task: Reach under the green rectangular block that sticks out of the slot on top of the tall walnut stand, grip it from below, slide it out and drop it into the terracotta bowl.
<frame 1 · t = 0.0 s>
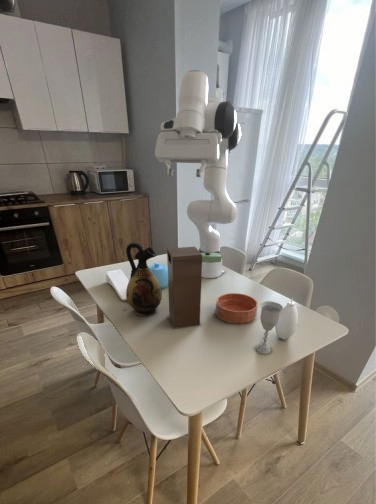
hand: (184, 175, 91), 54 cm above the table, tool tilted 30°, fingers open, 8 cm apart
sugar bowl: (158, 284, 154), on the table
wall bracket: (122, 290, 147), on the table
chalice: (263, 349, 106), on the table
white tall oval piece: (283, 338, 112), on the table
stand: (184, 320, 122), on the table
ceramic jug: (143, 310, 130), on the table
bowl: (235, 314, 127), on the table
green rectangular block: (203, 260, 110), point 26 cm above the table, touching stand
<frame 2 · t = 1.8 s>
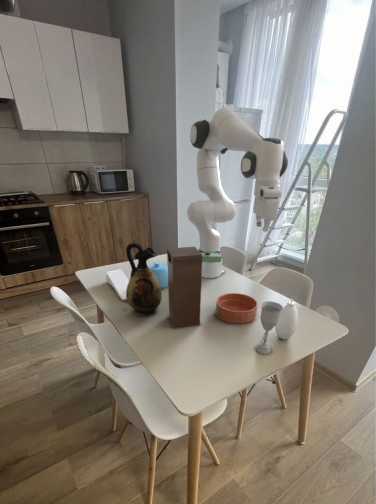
hand: (261, 228, 115), 35 cm above the table, tool pointing down, fingers open, 8 cm apart
nothing on the table moved.
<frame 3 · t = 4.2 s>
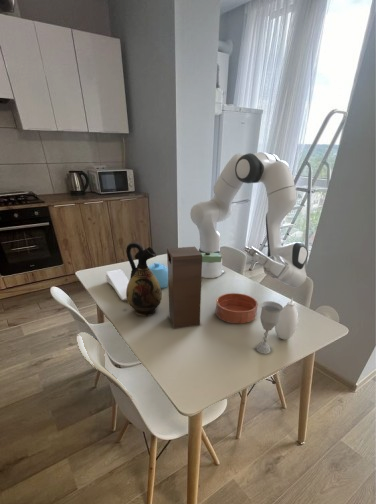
hand: (249, 251, 113), 28 cm above the table, tool pointing upward, fingers open, 8 cm apart
nothing on the table moved.
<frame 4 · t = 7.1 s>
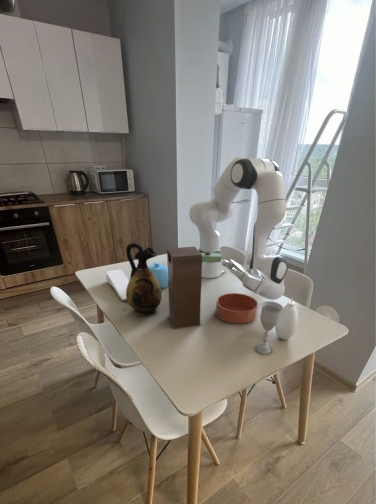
hand: (227, 265, 113), 23 cm above the table, tool pointing upward, fingers open, 8 cm apart
nothing on the table moved.
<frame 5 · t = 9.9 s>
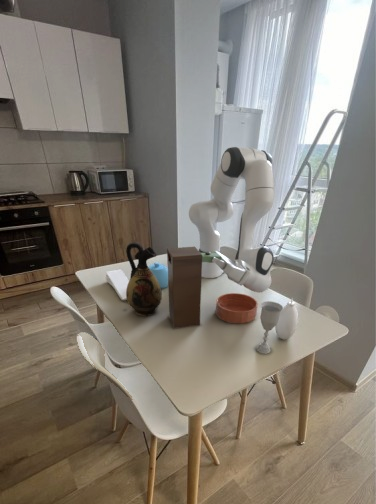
hand: (210, 256, 109), 27 cm above the table, tool pointing upward, fingers closed on green rectangular block, 4 cm apart
green rectangular block: (203, 260, 110), point 26 cm above the table, touching gripper, stand
everything else where it was.
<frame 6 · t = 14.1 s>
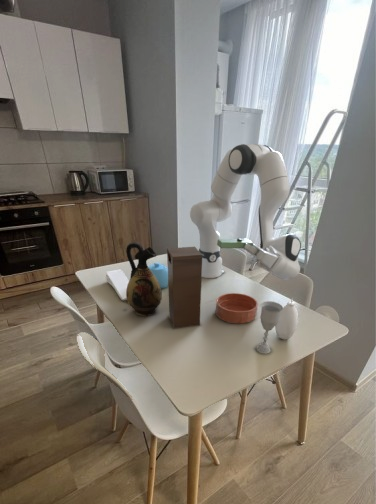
hand: (241, 242, 110), 31 cm above the table, tool pointing upward, fingers closed on green rectangular block, 4 cm apart
green rectangular block: (234, 246, 110), point 30 cm above the table, touching gripper
everything else where it was.
when the fingers open (17 cm above the table, at t = 18.5 s): green rectangular block drops 16 cm, resting on bowl.
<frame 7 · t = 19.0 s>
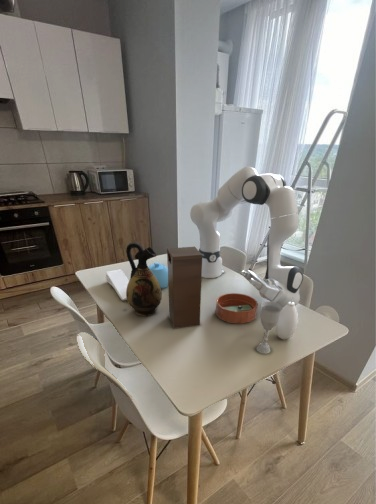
hand: (245, 276, 118), 17 cm above the table, tool pointing upward, fingers open, 8 cm apart
green rectangular block: (236, 312, 127), point 1 cm above the table, touching bowl
everything else where it was.
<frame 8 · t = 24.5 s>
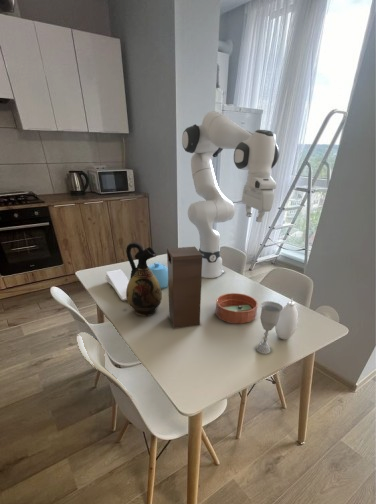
hand: (253, 219, 118), 37 cm above the table, tool pointing down, fingers open, 8 cm apart
nothing on the table moved.
at the end: green rectangular block inside the target area in the bowl (0.3 cm from its centre), point 0.6 cm above the bowl's base; the gripper is holding nothing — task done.
